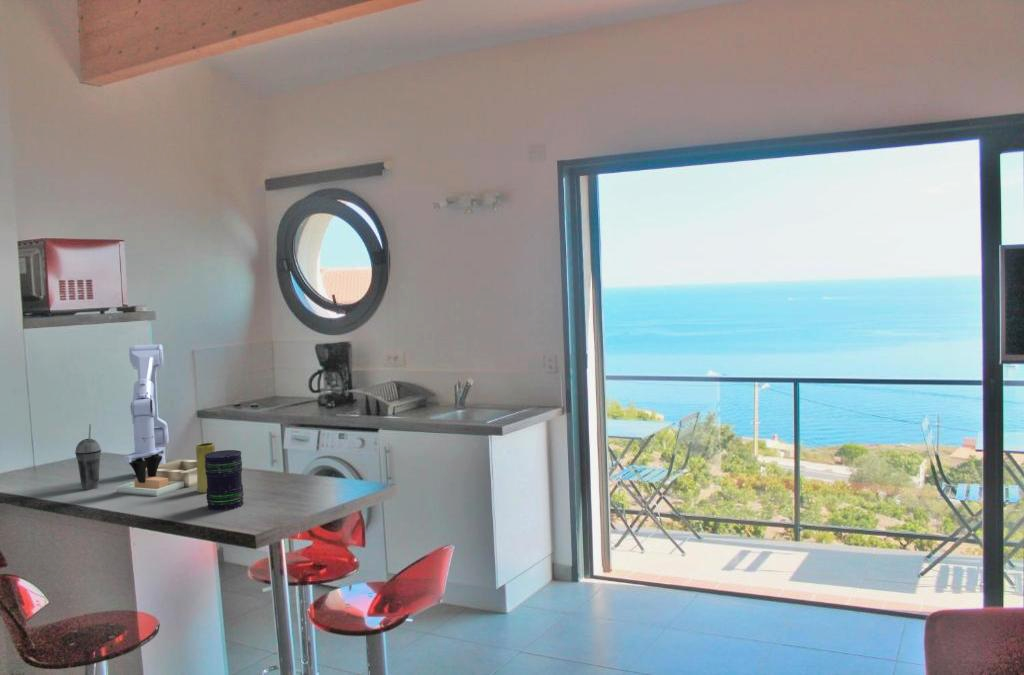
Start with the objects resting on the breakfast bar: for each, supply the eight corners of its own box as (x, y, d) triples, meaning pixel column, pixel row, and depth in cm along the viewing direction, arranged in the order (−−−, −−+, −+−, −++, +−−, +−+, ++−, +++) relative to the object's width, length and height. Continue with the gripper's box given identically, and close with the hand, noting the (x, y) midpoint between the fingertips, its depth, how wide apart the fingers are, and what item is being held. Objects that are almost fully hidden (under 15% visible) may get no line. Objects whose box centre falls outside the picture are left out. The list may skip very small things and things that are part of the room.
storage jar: (201, 506, 224) (198, 454, 223) (234, 499, 231) (231, 448, 230) (216, 513, 217) (213, 458, 216) (250, 505, 223) (247, 453, 223)
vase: (210, 493, 239) (208, 446, 238) (192, 492, 240) (190, 446, 239) (222, 488, 244) (219, 442, 244) (204, 487, 246) (202, 442, 245)
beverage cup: (72, 489, 248) (68, 426, 247) (93, 484, 255) (90, 422, 254) (86, 491, 245) (82, 427, 244) (108, 486, 251) (104, 423, 250)
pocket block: (143, 483, 254) (142, 469, 254) (180, 472, 269) (180, 459, 268) (189, 487, 247) (188, 472, 247) (224, 475, 262) (224, 461, 262)
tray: (116, 492, 243) (116, 486, 243) (144, 484, 253) (144, 478, 253) (156, 496, 237) (156, 490, 237) (184, 487, 247) (183, 481, 247)
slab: (134, 487, 245) (134, 478, 245) (143, 485, 248) (143, 475, 248) (159, 490, 241) (159, 480, 241) (168, 487, 245) (168, 478, 244)
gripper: (135, 442, 236) (138, 487, 237) (172, 433, 250) (174, 476, 251) (117, 441, 239) (120, 486, 240) (154, 432, 252) (157, 475, 253)
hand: (146, 481), depth 245 cm, fingers closed on slab, 3 cm apart
